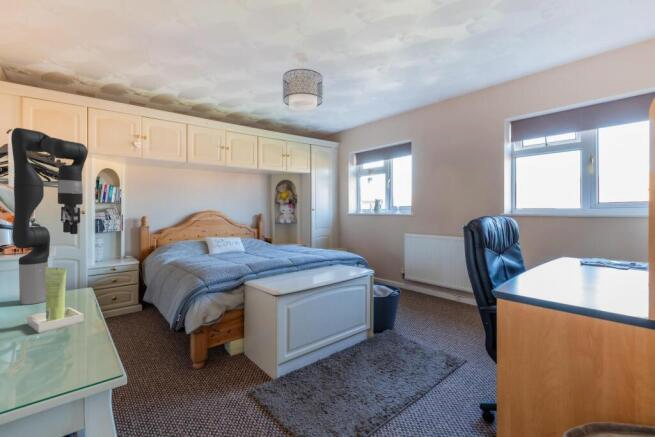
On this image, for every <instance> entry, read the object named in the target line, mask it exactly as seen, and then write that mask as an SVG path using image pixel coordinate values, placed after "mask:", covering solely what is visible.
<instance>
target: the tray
mask: <svg viewBox="0 0 655 437" xmlns="http://www.w3.org/2000/svg"><path fill="white" fill-rule="evenodd" d="M84 319H85V318H84V313H82V312H80V311H78V310H76V309H74V308H72V307H69V306H68V307H65V316H64V318H62V319H58V320H53V321H49V322H46V311H44V312H40V313H34V314H31V315H26V320H27V321H26V322H27V323H26V324H27V325H28V326H29V327H30V328H31V329H33V330H34V331H35V332H37V333H38V334H41V333H42V334H43V333H48V332H51V331H55V330H58V329H63V328H67V327H71V326H75V325H78V324H79V325H80V324H83V323H84V322H85V321H84Z"/></svg>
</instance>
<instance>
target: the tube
mask: <svg viewBox="0 0 655 437" xmlns="http://www.w3.org/2000/svg"><path fill="white" fill-rule="evenodd" d="M67 269H68V268H67V267H50V266H48V267H45V271H46V301H45V312H46V322H49V321H53V320H58V319H62V318H64V316H65V308H66V303H65V302H66V282H67V281H66V280H67V271H68V270H67Z"/></svg>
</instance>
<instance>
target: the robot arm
mask: <svg viewBox="0 0 655 437" xmlns="http://www.w3.org/2000/svg"><path fill="white" fill-rule="evenodd" d="M10 139H11V149H12V150H11V151H12V157H13V197H14V214H13V215H14V216H13V224H12V225H13V226H12V232H11V233H12V234H11V235H12V236H11V237H12V242H13V245H14V246H15V247H16V249H31V250H30V252H28V253H27V254H24V255H22V256H20V257H19V258H18V280H19V281H18V289H19V305H34V304H40V303H43V302H46V271H45V267H49V262H48V261H49V260H48V259H49V256H50V248H51V247H50V245H51V234H50V231H49V229H48V228H47V227H45V226H30V224H31V223H30V222H31V219H32V215H33V213H34V212H35V210H36V209H37V208H38V207H39V205H40V203H41V202H42V201H43V199H44V197H45V196H44V195H45V194H44V193H45V190H44V188H45V187H44V181H43V179H42V177H41V176H40V175H39V174H38V172H37V171H36V170H35V168H34V167H33V166H32V165H31V163H30V162H29V159H28V156H27V152H33V153H46V154H49V155H52V156H54V157H55V158H58V159H62V160H63V159H64V160H71V161H72V160H73V161H72V163H71V164H64V165H60V166H58V182H57V183H58V184H57V204H58V205H64V206H60V221H61V222H62V227H63V228H62V232H63V233H69V234H70V235H78V231H79V230H78V229H79V227H78V226H79V224H80V223H81V207H77V205H78V206H79V205H83V192H84V191H83V190H84V189H83V169H84V167H85V163H86V160H87V157H88V148H87V147H86V145H85V144H83V143H80V142H76V141H69V140H63V139H61V138H56V137H51V136H50V135H48V134H46V133H44V132H43V131H39V130H35V129H28V128H22V127H15V128H13V130H12V131H11V138H10Z"/></svg>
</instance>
